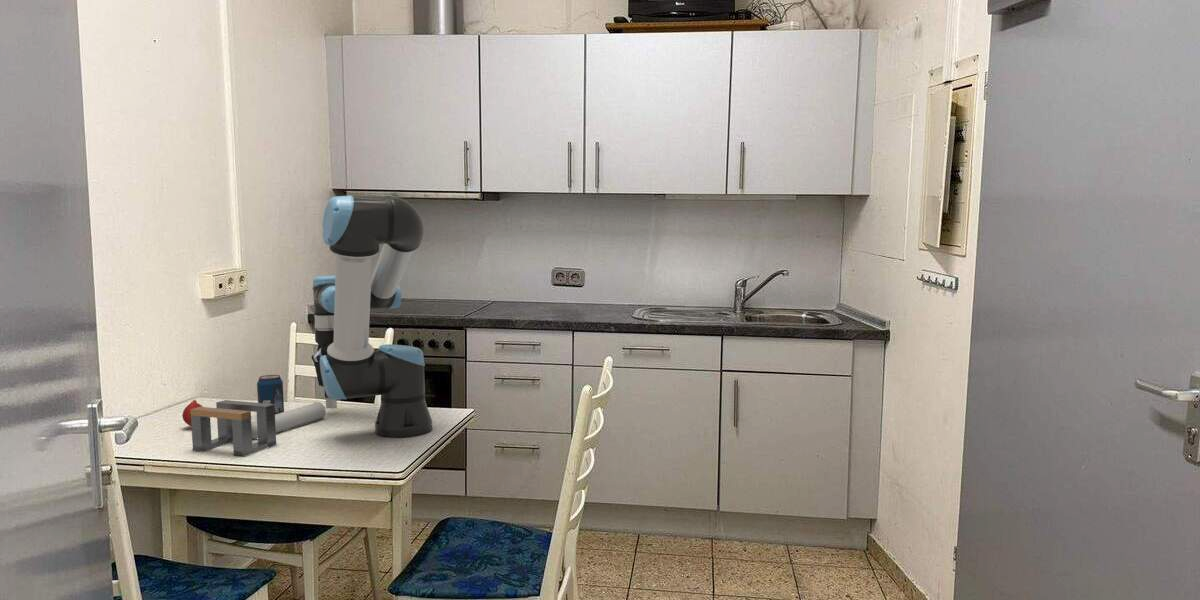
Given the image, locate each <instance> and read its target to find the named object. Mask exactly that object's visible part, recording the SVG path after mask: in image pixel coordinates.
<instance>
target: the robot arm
mask: <svg viewBox="0 0 1200 600" xmlns="http://www.w3.org/2000/svg"><path fill="white" fill-rule="evenodd" d="M424 226H425V225H424V222H423V220H422V217H421V215H420V213H419V212H418V210H417V209H416V208H415V207H414V206H413V205H412V203H410V202H408V201H407V200H406V199H403V198H401V197H398V196H393V195H391V196H390V195H386V196H385V195H384V196H382V195H381V196H379V195H378V196H377V195H376V196H374V195H372V196H371V195H351V194H348V195H340V196H338V195H337V196H333V197H331V198H330V199H329V200H328V202H327V203H326V205H325V208H324V212H323V218H322V240H323V243H324V244H326V245H328V246H329V251H330V252H331V253H332V254H333V255H334V256H335V274H334V275H321V276H319V275H318V276H314V277H313V281H312V292H313V293H312V294H313V312H314V328H315V330H314V341H315V342H314V343H316V344H317V349H316V351H317V352H316V354H312V355H311V360H312V361H313V363H314V364H313V365H314V369H315V373H316V377H317V378H316V379H317V382H318V383H317V384H318V385H319V386H320V387H323V388H324V399H325V409H331V410H334V409H337V408H338V405H337V404H338V403H337V400H346V401H347V399H349V400H350V399H356V398H365V397H373V396H380V406H379V409H378V413H377V417H376V418H375V419H376V420H375V423H374V433H375V434H376V435H378V436H382V437H387V438H406V437H414V436H419V435H424V434H426V433H429V432H431V431H432V430H433V418H432V417H431V414H430V411H429V408H428V406H427V401H426V383H425V380H426V379H425V366H426V364H425V358H424V352H423V350H422V349H420V348H419V347H417V346H416V347H415V346H412V345H405V344H404V345H403V344H389V343H388V344H381V345H379V347H378V350H376V351H375V348H374V346H373V345H372V344H370V342H369V339H370V336H369V335H370V318H371V317H370V314H371V311H377V310H386V311H387V310H389V309H397V308H399V307H400V306H401V304H402V299H403V296H402V295H403V294H402V289H401V286H400V283H401V280H402V278H403V276H404V273H405V272H406V269H407V266H408V264H409V261H410V259H411V257H412V254H413V252H415V251H416V250H418V248H419V247H420V245H421V243H422V241H423V239H424V234H425V227H424ZM382 244H383V246H382V248H381V251H380V245H382ZM379 253H380V254H379ZM378 254H379V258H378V259H377V263H376V266H375V268H374V271H373V273H372V269H373V267H372V266H373V258H374V257H376V256H377V255H378Z"/></svg>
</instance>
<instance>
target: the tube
mask: <svg viewBox="0 0 1200 600" xmlns="http://www.w3.org/2000/svg"><path fill="white" fill-rule="evenodd" d="M326 409H327V408H326V405H324V404H323V403H321V402H318V401H313V403H310V404H306V405H303V406H300V407H296V408H294V409H289V410H287V411H284V412H282V413H279V414H276V415H275V426H276V434H278V433H277V432H280V433H282V432H281V431H283V432H285V431H284V430H286V431H288V430H287V429H289V430H292V429H295V428H294V427H296V428H298V427H297V426H299V427H301V425H302V426H305V425H308V424H311V423H310V422H312V423H314V421H315V422H317V420H318V421H321V420H320V419H322V420H324V419H325V417H326V415H327V413H326V411H327V410H326ZM307 423H308V424H307ZM304 424H305V425H304ZM251 427H252V440H258V439H257V438H258V431H257V419H256V420H253V421H252V420H251ZM291 428H292V429H291Z"/></svg>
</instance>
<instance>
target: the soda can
mask: <svg viewBox="0 0 1200 600" xmlns="http://www.w3.org/2000/svg"><path fill="white" fill-rule="evenodd" d="M256 387H257V388H256V389H257V403H266V404H274V405H275V415H276V414H279V413H282V412H285V403H284V402H285V401H284V400H285V399H284V381H283V380H282V378H281V375H280V374H267V375H265V374H264V375H261V376H259V377H258V381H257V383H256Z"/></svg>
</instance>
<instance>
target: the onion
mask: <svg viewBox="0 0 1200 600" xmlns="http://www.w3.org/2000/svg"><path fill="white" fill-rule="evenodd" d="M197 407H204V406H203V405H202V404H200V403H198V402H197V399H192V401H190V403H189V404H188V405H187V406H185V408H184V409H183V411H182V420H183V421H184V423H185V424H186V425H188V426H189V427H191V428H192V426H191V409H194V408H197Z"/></svg>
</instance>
